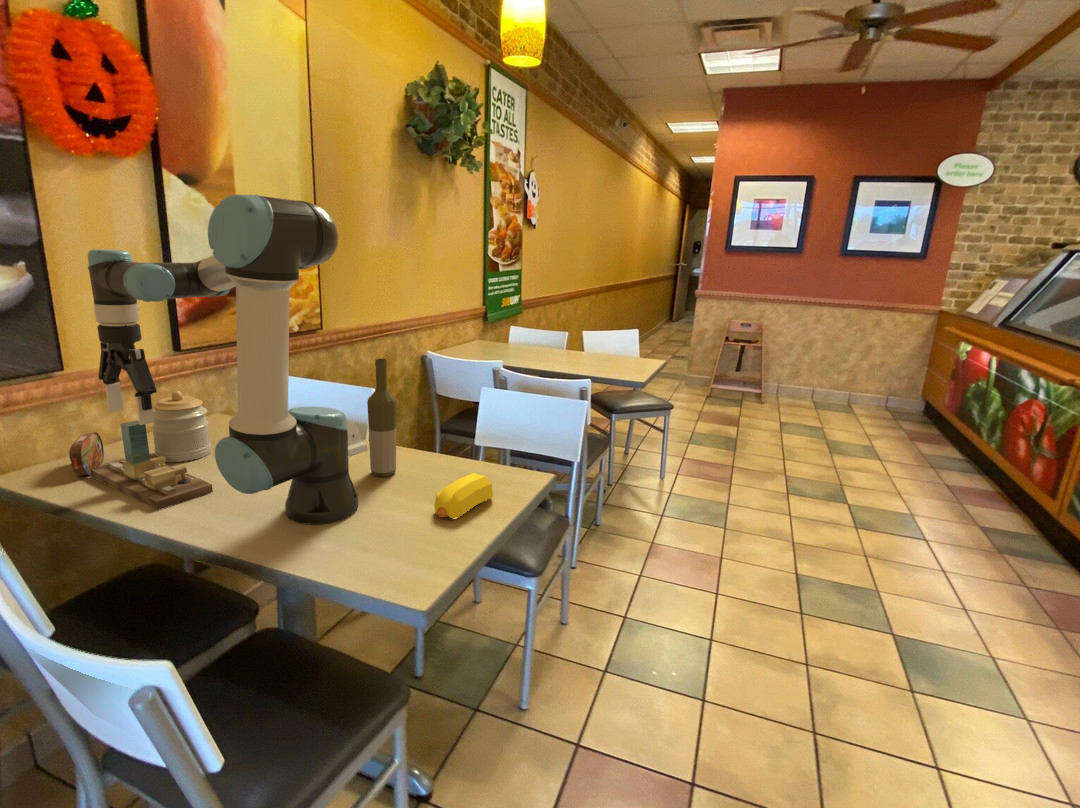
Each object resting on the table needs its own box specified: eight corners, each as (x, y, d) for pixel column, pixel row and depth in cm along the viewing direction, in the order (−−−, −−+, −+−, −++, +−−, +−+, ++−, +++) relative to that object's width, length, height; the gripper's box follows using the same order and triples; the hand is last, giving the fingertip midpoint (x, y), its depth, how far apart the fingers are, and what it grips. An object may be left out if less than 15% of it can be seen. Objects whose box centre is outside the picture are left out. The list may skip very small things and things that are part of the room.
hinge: (321, 466, 152) (310, 430, 151) (310, 468, 154) (299, 432, 154) (369, 449, 166) (359, 416, 165) (358, 451, 168) (349, 418, 168)
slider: (171, 472, 137) (164, 420, 133) (135, 482, 130) (127, 427, 127) (160, 467, 139) (153, 416, 136) (124, 477, 133) (116, 423, 129)
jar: (172, 467, 147) (164, 400, 142) (145, 456, 153) (136, 391, 148) (221, 453, 158) (215, 390, 153) (194, 443, 164) (187, 383, 159)
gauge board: (212, 492, 133) (210, 467, 132) (157, 510, 123) (153, 483, 122) (145, 463, 148) (142, 440, 147) (91, 477, 138) (87, 452, 137)
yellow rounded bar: (425, 517, 127) (453, 526, 123) (425, 489, 125) (453, 498, 122) (473, 490, 142) (499, 498, 139) (474, 465, 140) (500, 472, 137)
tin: (87, 480, 137) (81, 446, 134) (71, 481, 135) (65, 447, 133) (106, 458, 150) (101, 427, 148) (91, 459, 149) (86, 428, 147)
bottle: (363, 475, 147) (360, 360, 139) (379, 466, 154) (376, 356, 146) (387, 480, 145) (385, 363, 137) (402, 470, 151) (401, 358, 144)
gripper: (168, 328, 121) (178, 424, 127) (110, 315, 133) (122, 403, 139) (128, 332, 115) (141, 432, 121) (71, 317, 127) (85, 409, 133)
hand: (131, 417), depth 130 cm, fingers open, 13 cm apart
